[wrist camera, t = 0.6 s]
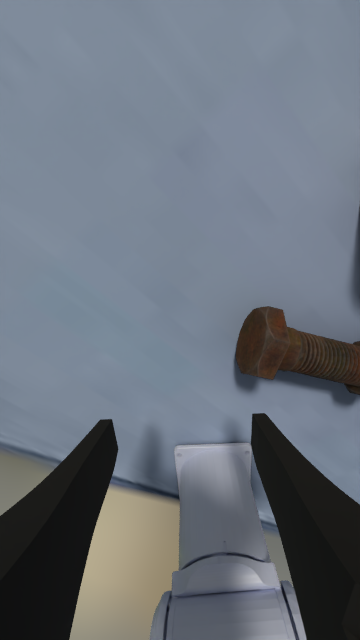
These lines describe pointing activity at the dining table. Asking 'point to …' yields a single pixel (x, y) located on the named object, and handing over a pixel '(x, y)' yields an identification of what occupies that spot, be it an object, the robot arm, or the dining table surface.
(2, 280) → the dining table surface
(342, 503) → the robot arm
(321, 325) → the dining table surface
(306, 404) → the dining table surface
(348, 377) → the bolt
